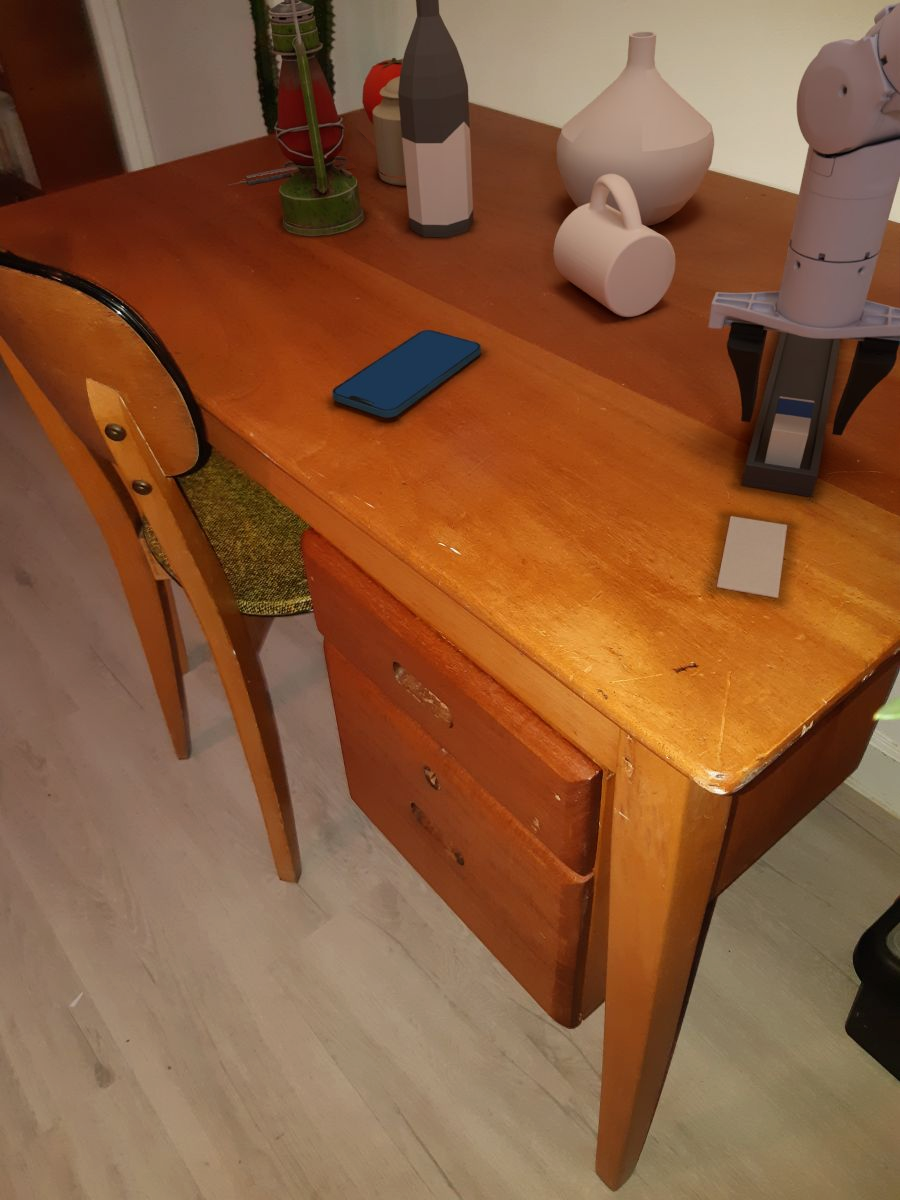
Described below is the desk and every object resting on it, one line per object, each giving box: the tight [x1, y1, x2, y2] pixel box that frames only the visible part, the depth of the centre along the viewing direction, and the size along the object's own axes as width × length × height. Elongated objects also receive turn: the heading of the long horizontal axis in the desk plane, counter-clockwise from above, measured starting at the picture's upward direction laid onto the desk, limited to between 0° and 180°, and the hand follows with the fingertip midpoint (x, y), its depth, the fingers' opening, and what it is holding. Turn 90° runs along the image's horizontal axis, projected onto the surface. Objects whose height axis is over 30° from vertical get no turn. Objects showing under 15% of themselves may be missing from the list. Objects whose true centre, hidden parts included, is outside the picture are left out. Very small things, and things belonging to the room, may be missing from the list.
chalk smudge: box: [716, 515, 788, 599], centre depth 62 cm, size 8×4×1 cm, turn 161°
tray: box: [740, 332, 841, 498], centre depth 78 cm, size 35×5×2 cm, turn 158°
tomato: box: [361, 57, 403, 125], centre depth 138 cm, size 11×13×10 cm
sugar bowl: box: [372, 56, 407, 187], centre depth 121 cm, size 15×11×15 cm
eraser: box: [765, 396, 814, 468], centre depth 69 cm, size 5×3×4 cm, turn 158°
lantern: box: [268, 0, 365, 237], centre depth 104 cm, size 14×11×30 cm
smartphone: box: [331, 329, 482, 419], centre depth 83 cm, size 7×1×15 cm
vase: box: [556, 31, 715, 227], centre depth 103 cm, size 18×18×19 cm
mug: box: [552, 174, 676, 318], centre depth 89 cm, size 8×10×12 cm
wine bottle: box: [398, 0, 474, 239], centre depth 100 cm, size 8×8×30 cm
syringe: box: [229, 158, 349, 187], centre depth 126 cm, size 8×18×2 cm, turn 115°
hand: (791, 421), depth 68 cm, fingers open, 6 cm apart
